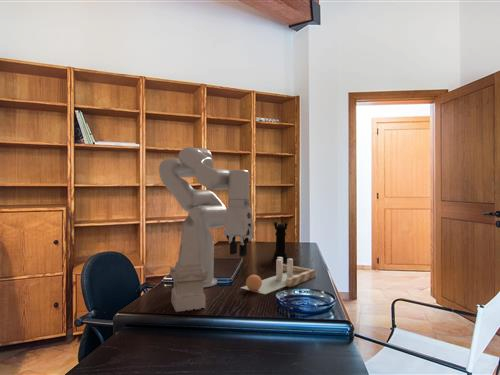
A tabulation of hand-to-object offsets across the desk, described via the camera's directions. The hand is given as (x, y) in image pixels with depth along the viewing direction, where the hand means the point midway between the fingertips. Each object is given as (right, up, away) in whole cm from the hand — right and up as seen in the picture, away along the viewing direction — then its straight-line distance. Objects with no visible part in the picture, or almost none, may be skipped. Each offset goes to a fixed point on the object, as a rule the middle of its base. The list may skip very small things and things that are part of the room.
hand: (238, 254), depth 127 cm
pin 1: (+17, -15, +26) cm, 34 cm away
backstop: (+20, -15, +26) cm, 36 cm away
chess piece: (+21, -15, +64) cm, 69 cm away
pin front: (+16, -15, +21) cm, 31 cm away
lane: (+16, -15, +20) cm, 30 cm away
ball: (+6, -12, +8) cm, 16 cm away
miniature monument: (-16, -15, -9) cm, 24 cm away
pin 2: (+21, -15, +23) cm, 34 cm away
